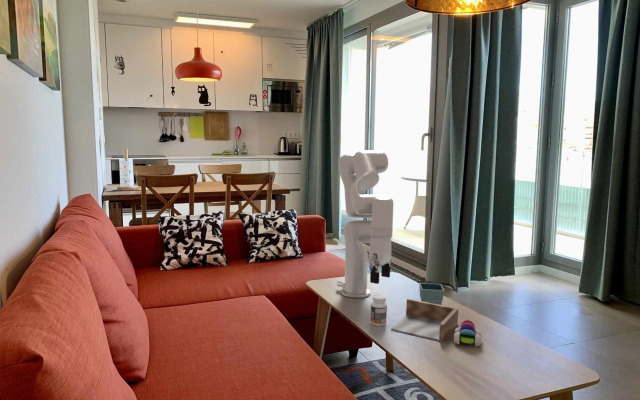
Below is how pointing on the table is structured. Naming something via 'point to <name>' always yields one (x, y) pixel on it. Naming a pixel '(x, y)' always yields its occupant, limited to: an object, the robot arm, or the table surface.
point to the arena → (428, 320)
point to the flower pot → (431, 293)
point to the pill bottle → (378, 310)
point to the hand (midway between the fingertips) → (380, 279)
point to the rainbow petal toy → (467, 333)
